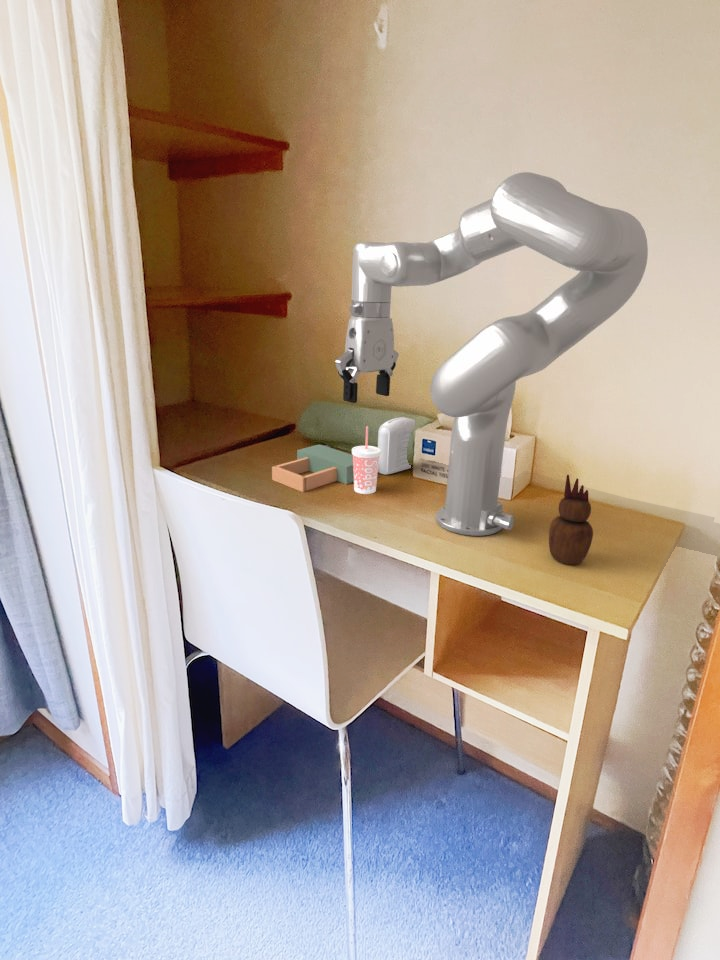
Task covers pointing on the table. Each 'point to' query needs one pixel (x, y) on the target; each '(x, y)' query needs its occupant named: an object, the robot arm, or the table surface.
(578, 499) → the wooden figurine
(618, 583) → the table surface
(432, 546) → the table surface
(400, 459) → the photo printer
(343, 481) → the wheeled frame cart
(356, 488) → the beverage cup
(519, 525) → the table surface
